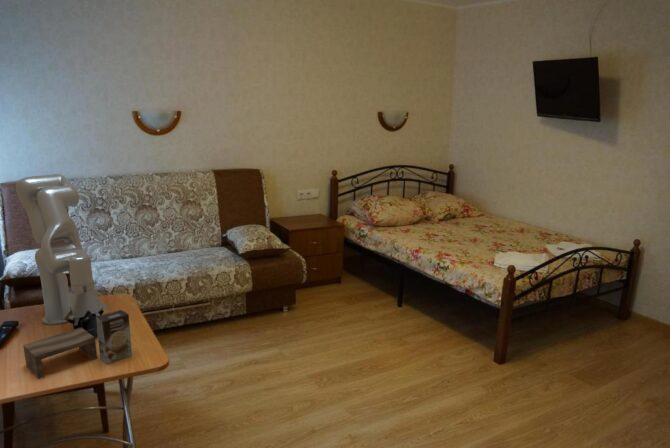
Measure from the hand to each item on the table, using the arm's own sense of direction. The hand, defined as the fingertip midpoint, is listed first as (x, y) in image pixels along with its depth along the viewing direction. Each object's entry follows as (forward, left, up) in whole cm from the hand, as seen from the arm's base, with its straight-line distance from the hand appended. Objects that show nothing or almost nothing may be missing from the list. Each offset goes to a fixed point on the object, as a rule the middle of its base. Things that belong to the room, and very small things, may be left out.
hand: (87, 330), depth 195 cm
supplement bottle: (0, 0, -3) cm, 3 cm away
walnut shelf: (+12, -14, -3) cm, 19 cm away
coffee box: (+23, 0, -3) cm, 23 cm away
